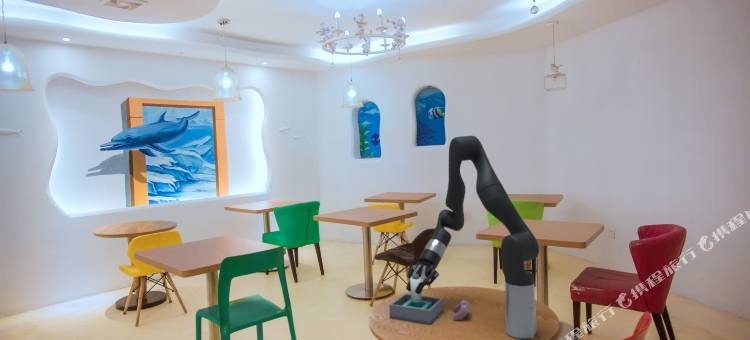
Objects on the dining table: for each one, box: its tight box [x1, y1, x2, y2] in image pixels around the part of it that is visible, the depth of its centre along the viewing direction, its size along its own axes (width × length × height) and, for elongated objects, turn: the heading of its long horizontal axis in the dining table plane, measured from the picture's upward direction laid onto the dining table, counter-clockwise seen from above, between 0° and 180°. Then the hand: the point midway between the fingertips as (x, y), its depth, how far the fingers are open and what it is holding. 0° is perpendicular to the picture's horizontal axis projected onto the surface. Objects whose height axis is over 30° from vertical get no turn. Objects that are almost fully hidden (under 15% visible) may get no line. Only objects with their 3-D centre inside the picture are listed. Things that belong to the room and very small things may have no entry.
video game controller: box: [452, 299, 470, 322], centre depth 164 cm, size 10×5×7 cm, turn 170°
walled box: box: [388, 293, 445, 326], centre depth 167 cm, size 16×14×5 cm
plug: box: [409, 274, 423, 303], centre depth 167 cm, size 4×4×10 cm
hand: (412, 291), depth 165 cm, fingers closed on plug, 4 cm apart
